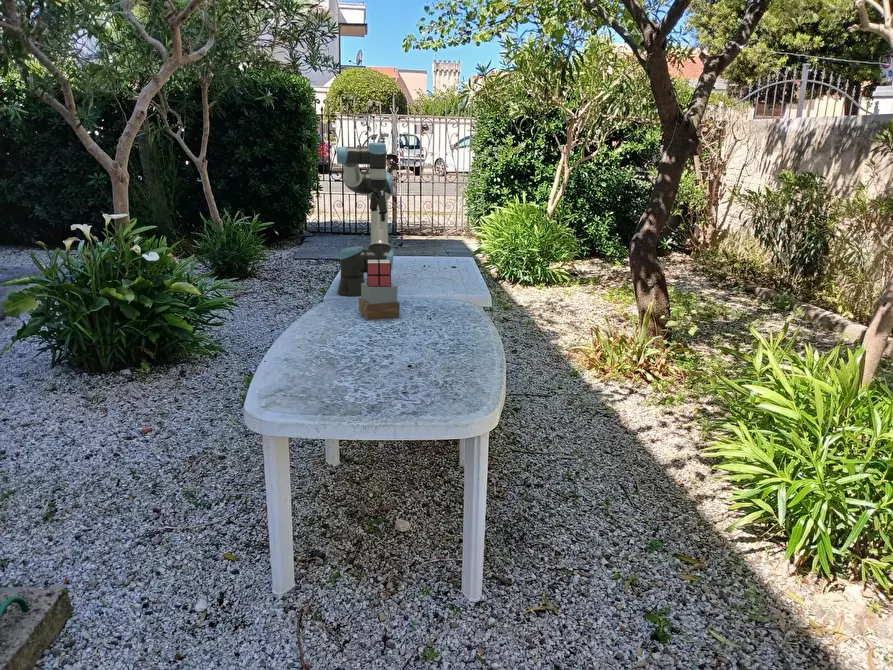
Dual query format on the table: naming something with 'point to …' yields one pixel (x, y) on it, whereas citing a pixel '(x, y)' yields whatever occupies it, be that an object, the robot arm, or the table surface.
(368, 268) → the puzzle cube
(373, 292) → the slate block
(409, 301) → the table surface
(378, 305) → the walnut block
